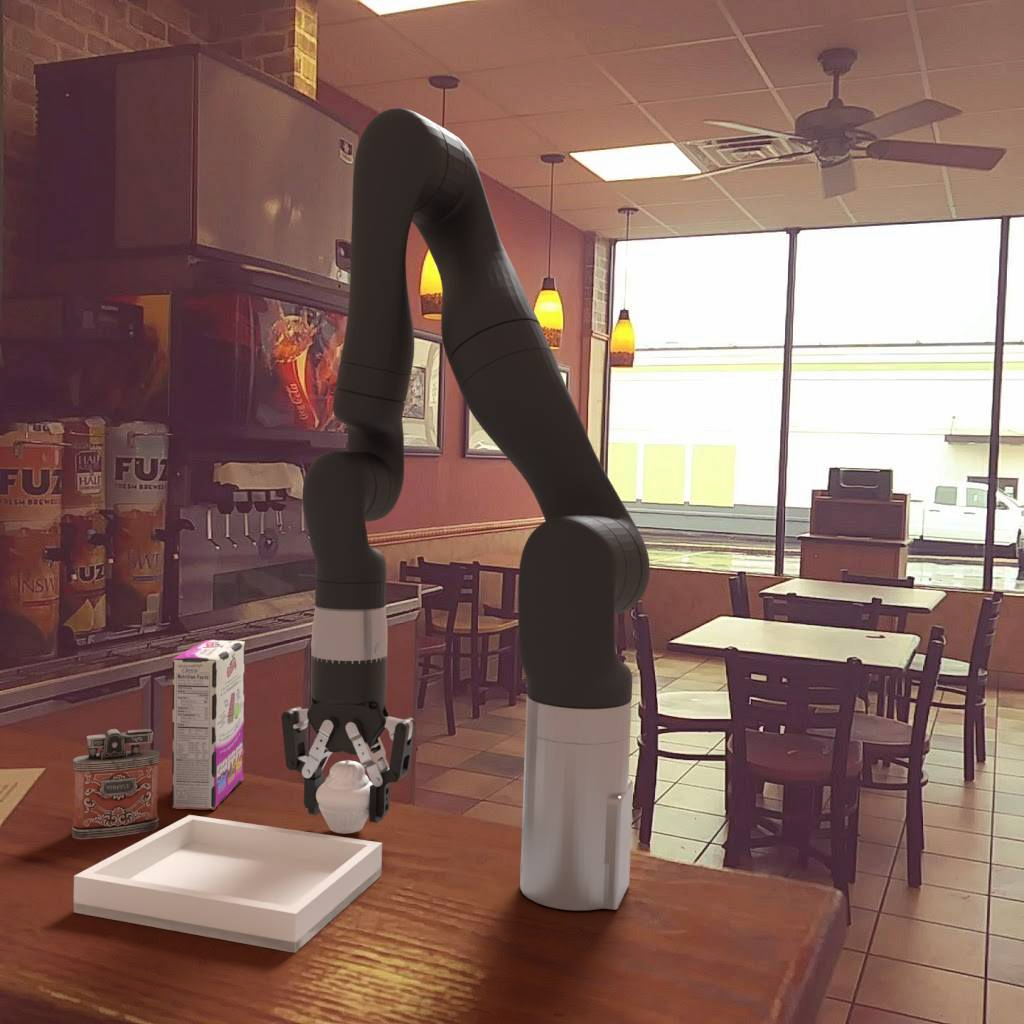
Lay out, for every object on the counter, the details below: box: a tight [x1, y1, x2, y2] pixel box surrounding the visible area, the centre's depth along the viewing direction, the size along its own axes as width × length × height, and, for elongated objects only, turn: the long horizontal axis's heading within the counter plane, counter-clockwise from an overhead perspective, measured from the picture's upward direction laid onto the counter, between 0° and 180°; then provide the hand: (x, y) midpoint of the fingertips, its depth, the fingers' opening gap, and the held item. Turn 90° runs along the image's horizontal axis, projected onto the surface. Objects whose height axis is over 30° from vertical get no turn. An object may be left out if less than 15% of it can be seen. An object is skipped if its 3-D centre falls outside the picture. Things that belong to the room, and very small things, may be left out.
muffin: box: [316, 759, 373, 834], centre depth 104 cm, size 6×6×7 cm
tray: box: [72, 814, 383, 954], centre depth 89 cm, size 20×16×3 cm
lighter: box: [71, 728, 161, 840], centre depth 102 cm, size 8×3×10 cm, turn 118°
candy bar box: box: [171, 639, 246, 809], centre depth 114 cm, size 11×5×16 cm, turn 179°
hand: (345, 815), depth 104 cm, fingers closed on muffin, 6 cm apart
